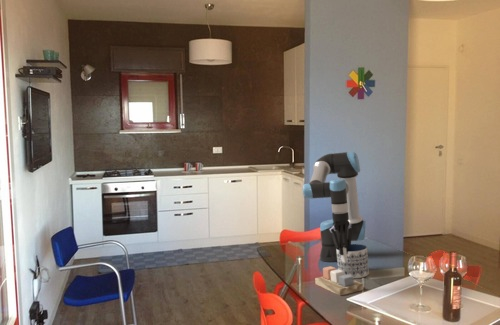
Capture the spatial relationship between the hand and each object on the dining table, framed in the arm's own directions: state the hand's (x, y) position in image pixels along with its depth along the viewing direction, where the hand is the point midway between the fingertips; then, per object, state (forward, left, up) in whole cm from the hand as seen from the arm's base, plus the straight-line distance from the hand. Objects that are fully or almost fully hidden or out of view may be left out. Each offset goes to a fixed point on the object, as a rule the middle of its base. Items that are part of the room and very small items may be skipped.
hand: (344, 261), depth 224 cm
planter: (-17, -19, -14) cm, 30 cm away
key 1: (0, -14, -11) cm, 18 cm away
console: (0, -7, -14) cm, 16 cm away
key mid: (0, -7, -11) cm, 13 cm away
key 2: (0, 0, -12) cm, 12 cm away
